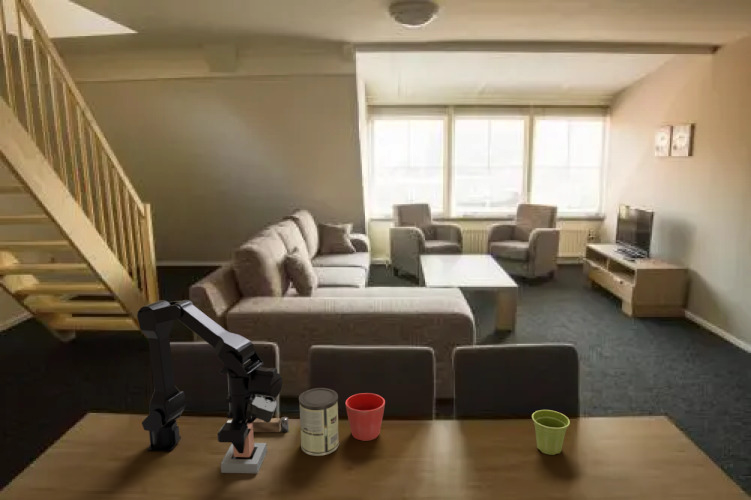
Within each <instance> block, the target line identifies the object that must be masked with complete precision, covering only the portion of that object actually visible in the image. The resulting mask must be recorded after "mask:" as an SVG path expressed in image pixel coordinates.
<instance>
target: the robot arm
mask: <svg viewBox="0 0 751 500" xmlns="http://www.w3.org/2000/svg"><path fill="white" fill-rule="evenodd" d="M136 315H137V316H136V317H137V322H138V325H139V329H140V331H141V333H143V334H144V336H145V337H146V338H147V339H148V340H147V341H148V347H149V349H148V350H149V357H150V363H151V365H150V366H151V370H152V371H151V372H152V379H153V388H154V390H153V391H154V392H153V393H152V396H151V399H150V401H149V414H148V415H147V416H146V418H144V420H142V422H141V425H142V428H143V430H144V431H147V432H148V434H149V444H150V445H149V446H148V447H147V451H148V452H150V451H151V452H171V451H172V450H173V449H174V448H175V446H176V445H177V444H178V443H179V442H180V440H181V438H182V436H181V435H180V426H178V423H177V419H179V418H181V415H182V413H183V412H184V411H185V408H186V406H187V402H186V397H185V396H186V394H185V391H183V390H182V391H180V389H178V387H177V386H176V384H175V383H176V382H175V375H174V367H173V359H172V350H171V343H170V340H171V339H170V334H171V330H172V328H173V325H174V321H175V320H178V321H179V322H181V324H183V325H184V326H186V327H187V328H188V329H189V330H191V331H192V332H193V333H194V334H196V335H197V336H198V337H199V338H201V339H202V340H203V341H205V343H207V344H209V346H211V348H213V349H214V352H215V355H216V357H217V358H218V360H219V361H221V362H222V364H223V365H224V366H223V368H221V369H220V370H219V374H221V375H227V386H228V395H227V396H226V400H225V401H226V403H228V405H229V411H228V412H227V414H226V417H227V419H231V420H232V422H231V423H227V422H225V423H223V425H222V426H220V429H219V430H218V432H217V442H219V443H231V444H233V445H234V447H235V448H236V450H237V451H238V453H243V452H244V445H245V439H246V437H247V436H248V434H249V432H250V430H251V429H248V426H247V425H248V424H247V423H253V421H254V420H255V419H256V418H258V419H261V420H263V421H264V422H270V421H271V419H272V418H273V416H274V414H275V411H276V409H277V405H278V403H277V400H276V398H277V397H278V396H279V395H280V393H281V391H282V388H283V378H282V376H281V374H280V373H278V369H277V368H276V367H270V368H269V367H264V366H263V365H264V363H265V361H264V360H263V359H262V358H261V356H260V355H259V353H258V352H257V350H256V348H255V346H254V343H253V342H252V341H251V340H250V339H247V338H246V337H244V336H242V335H241V334H239V333H233V332H230V331H228V330H226V329H225V328H223V327H222V326H221V325H220V324H218V323H217V322H216V321H214V320H213V319H212V318H210V317H209V316H207V315H206V314H205V313H204V311H203V312H202V311H201V310H200V309H199V308H198V307H197V306H195V305H194V303H193V302H192V301H191V300H190V299H184V300H175V301H167V300H164V299H161V300H158V301H157V300H156V301H154V302H152V303H149V304H146V305H143V306H141V307H140V309H139V310H138V311H137V313H136ZM249 361H251V362H249ZM248 362H249V363H248ZM247 363H248V364H247ZM245 364H247V365H245ZM244 365H245V366H244Z"/></svg>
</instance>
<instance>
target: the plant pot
mask: <svg viewBox="0 0 751 500" xmlns="http://www.w3.org/2000/svg"><path fill="white" fill-rule="evenodd" d="M531 419H532V421H533V424H534V430H535V438H536V439H535V441H536V448H537V449H538V450H539V451H540V452H542V454H546V455H549V456H550V455H551V456H554V455H556V454H561V453H562V449H563V444H564V440H565V439H564V438H565V436H566V431H567V429H568V428H569V426H570V423H571V422H570V419H569V417H568V416H566V415H565V414H563V413H561V412H558V411H555V410H551V409H540V410H535V412H533V413H532V414H531Z"/></svg>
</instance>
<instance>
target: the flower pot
mask: <svg viewBox="0 0 751 500" xmlns="http://www.w3.org/2000/svg"><path fill="white" fill-rule="evenodd" d="M344 405H345V409H346V414H347V418H348V423H349V428H350V431H351V435H352V437H353V438H354V439H356V440H359V441H364V442H365V441H367V442H368V441H373V440H375V439H377V438H378V437H379V435H380V432H381V428H382V422H383V418H384V411H385V405H386V400H385V398H383V397H382V396H381V395H379V394H376V393H372V392H365V393H364V392H363V393H362V392H361V393H355V394H353V395H351V396H349V397H348V398H347V399H346V400H345V404H344Z"/></svg>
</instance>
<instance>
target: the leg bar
mask: <svg viewBox="0 0 751 500" xmlns="http://www.w3.org/2000/svg"><path fill="white" fill-rule="evenodd" d="M280 419H281V418H280V417H275V418H273V417H272V419H271V421H270V422H264V421H263V420H261V419H258V418H256V419H255V420H254V421H253V433H279V432H280V431H281V420H280Z"/></svg>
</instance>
